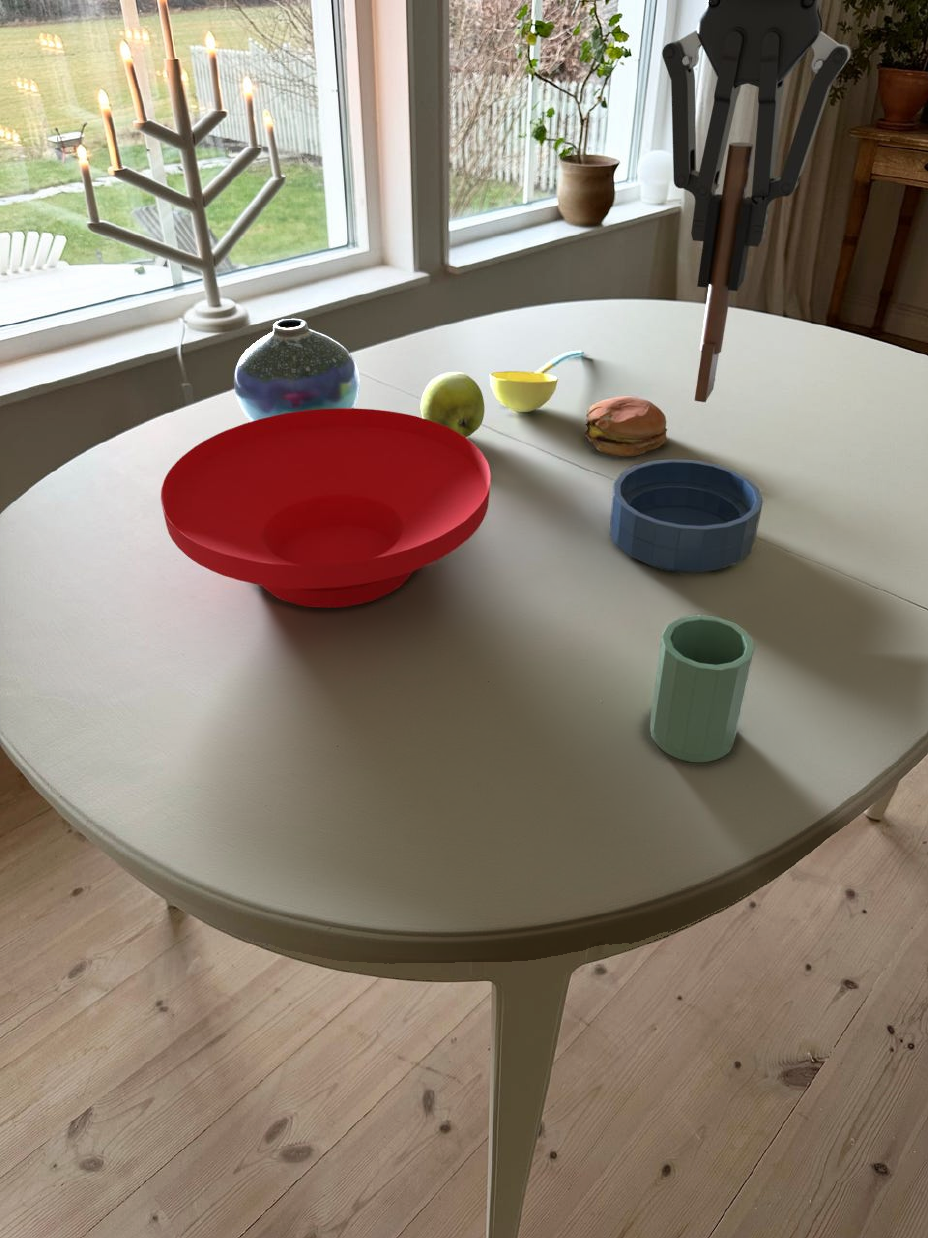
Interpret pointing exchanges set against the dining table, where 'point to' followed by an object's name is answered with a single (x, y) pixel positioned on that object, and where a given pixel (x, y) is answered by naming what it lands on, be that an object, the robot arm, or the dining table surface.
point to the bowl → (326, 502)
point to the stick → (722, 265)
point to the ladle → (527, 386)
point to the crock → (700, 687)
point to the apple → (454, 403)
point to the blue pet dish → (685, 515)
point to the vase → (295, 373)
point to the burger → (625, 426)
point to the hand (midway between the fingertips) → (720, 283)
